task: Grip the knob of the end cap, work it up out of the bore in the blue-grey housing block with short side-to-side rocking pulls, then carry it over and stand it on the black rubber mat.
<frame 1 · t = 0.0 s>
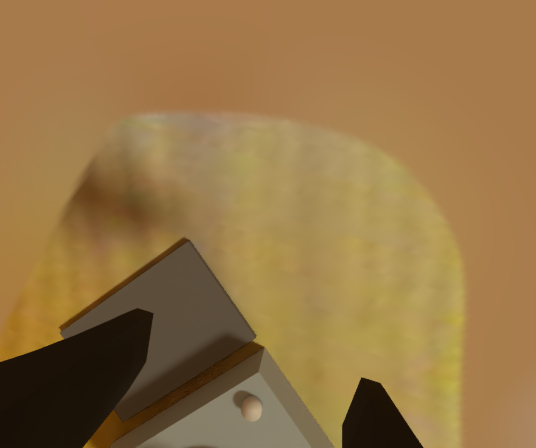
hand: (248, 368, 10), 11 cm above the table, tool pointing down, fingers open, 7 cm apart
mat: (156, 332, 22), on the table
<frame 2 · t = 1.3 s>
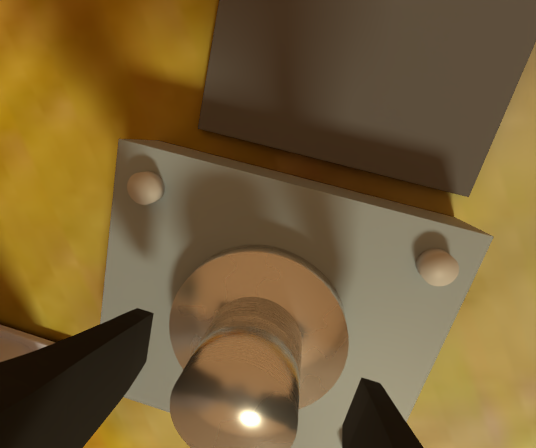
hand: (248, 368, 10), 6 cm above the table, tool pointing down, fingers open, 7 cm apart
mat: (356, 64, 12), on the table
housing: (269, 291, 16), on the table
end cap: (266, 301, 15), point 1 cm above the table, touching housing
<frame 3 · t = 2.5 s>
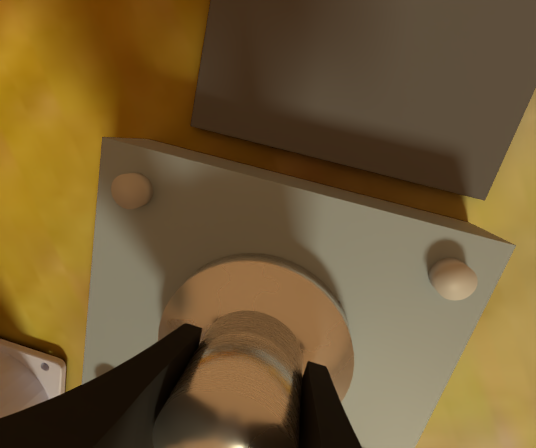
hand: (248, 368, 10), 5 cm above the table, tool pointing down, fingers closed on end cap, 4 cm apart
mat: (362, 56, 11), on the table
housing: (268, 301, 15), on the table
end cap: (264, 312, 14), point 1 cm above the table, touching gripper, housing
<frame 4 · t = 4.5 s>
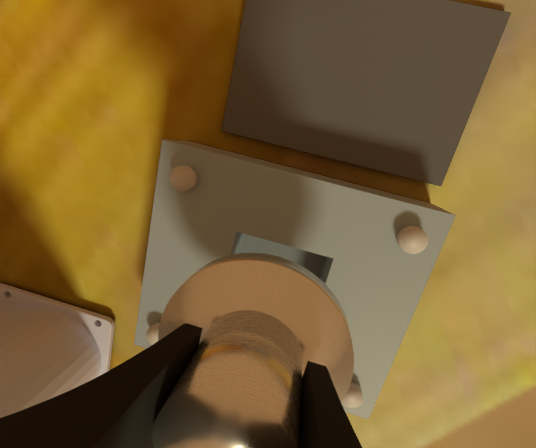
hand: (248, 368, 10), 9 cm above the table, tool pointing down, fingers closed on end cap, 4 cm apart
mat: (350, 79, 16), on the table
housing: (278, 266, 19), on the table
end cap: (265, 311, 14), point 5 cm above the table, touching gripper
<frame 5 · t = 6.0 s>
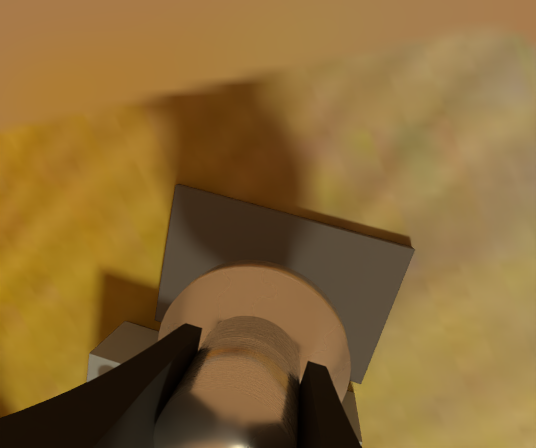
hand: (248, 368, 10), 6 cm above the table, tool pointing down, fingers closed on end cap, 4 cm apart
mat: (272, 285, 16), on the table
housing: (216, 432, 19), on the table
end cap: (262, 320, 14), point 3 cm above the table, touching gripper
when the fingers open (6 cm above the table, at t = 6.8 s): end cap drops 2 cm, resting on mat.
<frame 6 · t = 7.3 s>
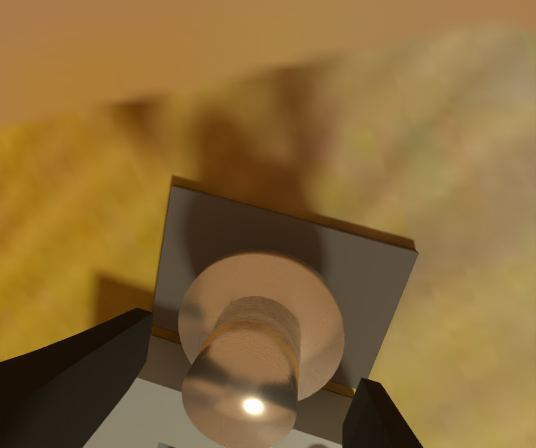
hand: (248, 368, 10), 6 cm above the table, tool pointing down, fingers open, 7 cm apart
mat: (272, 288, 16), on the table
housing: (214, 439, 19), on the table
end cap: (268, 300, 16), resting on mat
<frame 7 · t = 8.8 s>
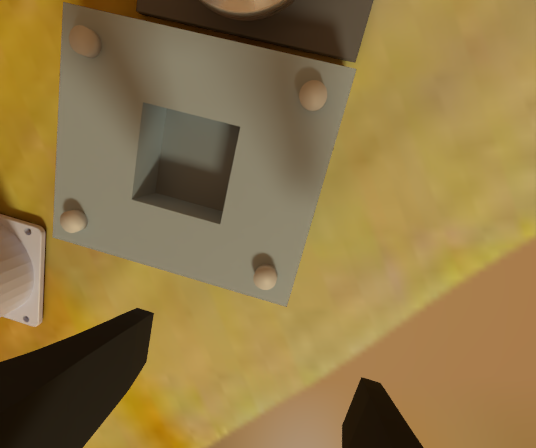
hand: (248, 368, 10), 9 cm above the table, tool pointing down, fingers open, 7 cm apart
housing: (203, 162, 18), on the table
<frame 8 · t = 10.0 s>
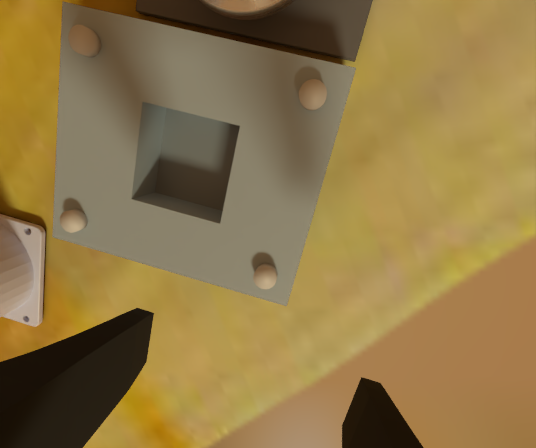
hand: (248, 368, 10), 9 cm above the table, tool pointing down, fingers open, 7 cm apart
housing: (203, 161, 18), on the table
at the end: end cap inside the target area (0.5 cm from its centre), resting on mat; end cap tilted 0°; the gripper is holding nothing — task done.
